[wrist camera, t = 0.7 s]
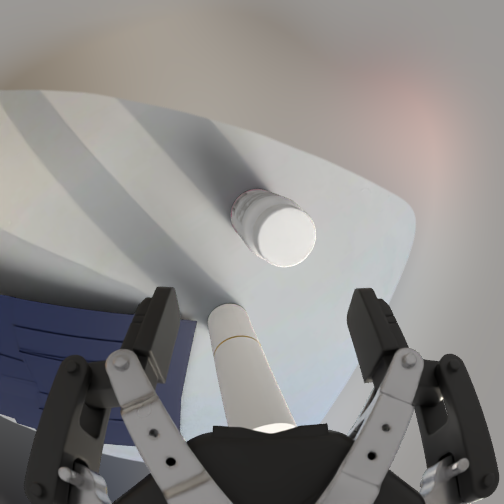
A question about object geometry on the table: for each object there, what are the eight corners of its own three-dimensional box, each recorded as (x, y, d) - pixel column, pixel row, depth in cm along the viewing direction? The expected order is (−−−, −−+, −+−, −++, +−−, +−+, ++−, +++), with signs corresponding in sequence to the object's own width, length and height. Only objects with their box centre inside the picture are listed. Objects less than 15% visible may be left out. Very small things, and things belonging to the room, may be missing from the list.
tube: (210, 302, 27) (238, 426, 13) (251, 304, 28) (307, 419, 14) (205, 337, 28) (229, 459, 14) (244, 338, 29) (289, 452, 15)
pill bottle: (284, 232, 26) (324, 263, 19) (235, 244, 26) (258, 282, 18) (276, 183, 25) (317, 194, 17) (225, 194, 24) (244, 210, 16)
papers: (-38, 271, 17) (-53, 284, 14) (193, 304, 29) (199, 323, 26) (6, 408, 24) (1, 424, 20) (176, 432, 35) (180, 450, 32)
